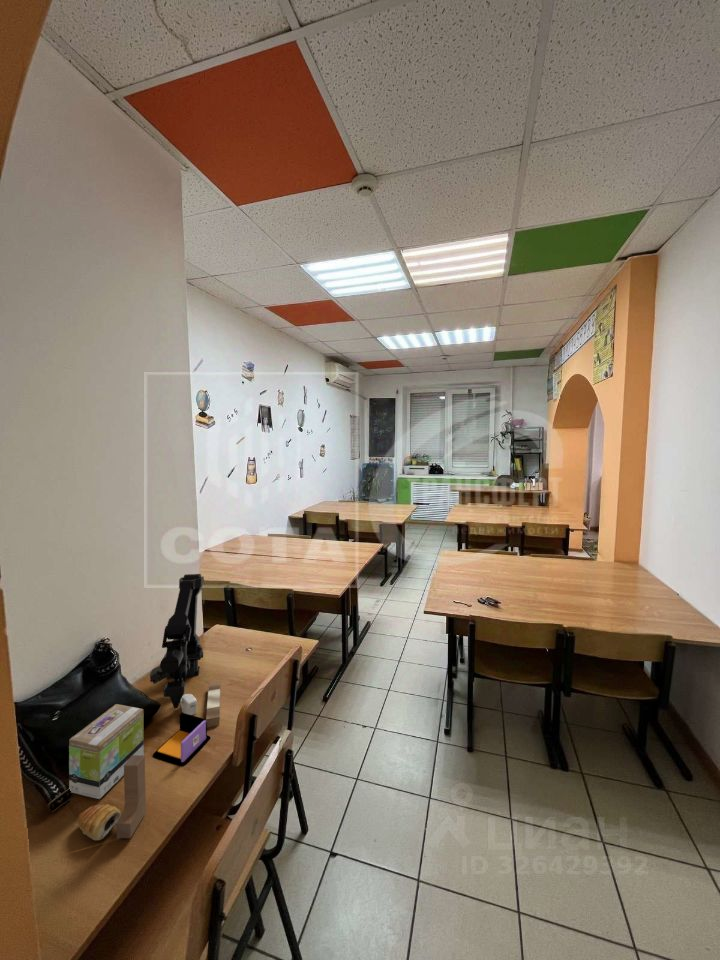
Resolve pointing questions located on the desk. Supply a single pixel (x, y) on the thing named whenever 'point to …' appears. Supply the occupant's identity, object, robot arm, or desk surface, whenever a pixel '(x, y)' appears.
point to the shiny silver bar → (213, 704)
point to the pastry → (98, 820)
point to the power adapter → (189, 704)
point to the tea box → (105, 750)
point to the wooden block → (133, 796)
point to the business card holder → (184, 741)
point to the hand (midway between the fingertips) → (177, 699)
